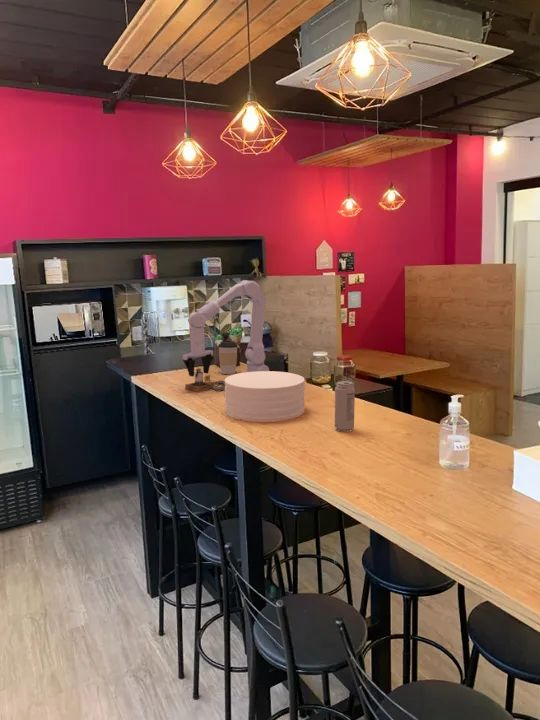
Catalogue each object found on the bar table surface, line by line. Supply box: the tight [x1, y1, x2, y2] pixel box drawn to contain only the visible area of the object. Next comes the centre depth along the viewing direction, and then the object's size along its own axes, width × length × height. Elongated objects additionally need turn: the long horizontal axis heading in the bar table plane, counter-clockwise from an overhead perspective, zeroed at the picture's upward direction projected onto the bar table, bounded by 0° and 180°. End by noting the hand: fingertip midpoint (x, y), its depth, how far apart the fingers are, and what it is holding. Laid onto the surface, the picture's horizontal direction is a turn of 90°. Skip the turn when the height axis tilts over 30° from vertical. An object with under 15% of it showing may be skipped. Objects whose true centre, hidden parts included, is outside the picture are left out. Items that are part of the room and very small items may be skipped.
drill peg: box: [194, 367, 204, 386], centre depth 229 cm, size 3×3×8 cm
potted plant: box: [213, 331, 241, 368], centre depth 277 cm, size 16×11×18 cm
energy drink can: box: [334, 380, 356, 432], centre depth 173 cm, size 6×6×15 cm
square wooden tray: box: [184, 381, 213, 393], centre depth 229 cm, size 8×8×2 cm
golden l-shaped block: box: [203, 374, 219, 386], centre depth 237 cm, size 6×2×4 cm, turn 47°
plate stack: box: [224, 370, 306, 423], centre depth 196 cm, size 28×28×12 cm
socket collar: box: [210, 380, 226, 392], centre depth 234 cm, size 12×12×1 cm
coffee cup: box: [217, 340, 239, 375], centre depth 260 cm, size 9×9×15 cm
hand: (198, 374), depth 229 cm, fingers open, 7 cm apart
